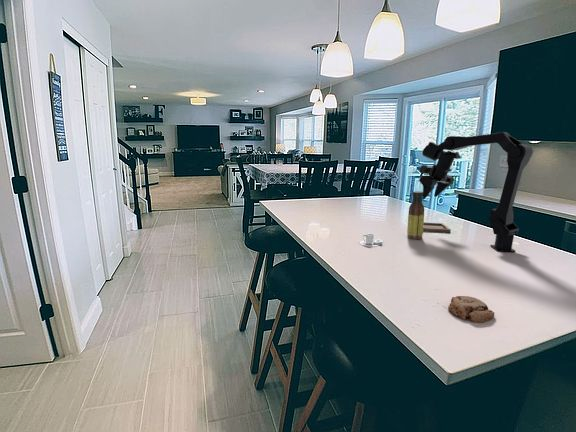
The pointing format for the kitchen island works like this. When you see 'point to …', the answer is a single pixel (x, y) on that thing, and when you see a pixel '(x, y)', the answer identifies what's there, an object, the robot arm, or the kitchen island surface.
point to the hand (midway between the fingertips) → (429, 197)
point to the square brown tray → (436, 227)
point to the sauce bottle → (416, 216)
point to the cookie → (470, 309)
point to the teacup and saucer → (371, 240)
